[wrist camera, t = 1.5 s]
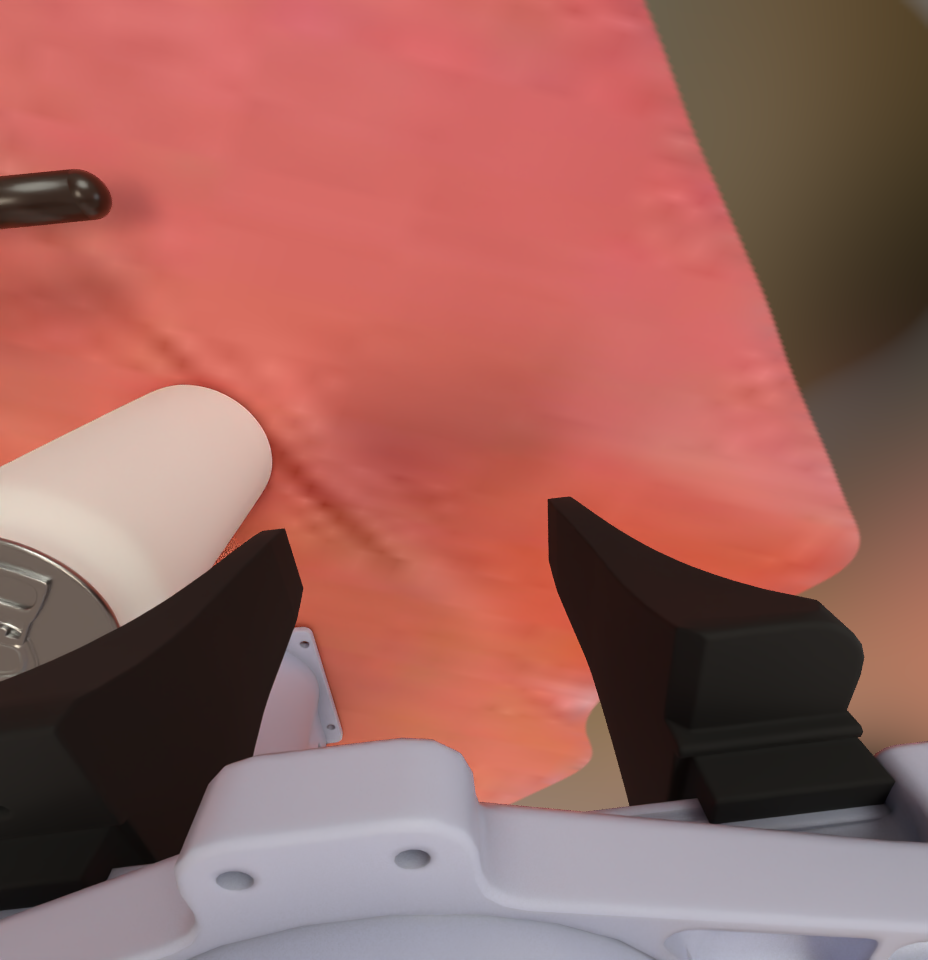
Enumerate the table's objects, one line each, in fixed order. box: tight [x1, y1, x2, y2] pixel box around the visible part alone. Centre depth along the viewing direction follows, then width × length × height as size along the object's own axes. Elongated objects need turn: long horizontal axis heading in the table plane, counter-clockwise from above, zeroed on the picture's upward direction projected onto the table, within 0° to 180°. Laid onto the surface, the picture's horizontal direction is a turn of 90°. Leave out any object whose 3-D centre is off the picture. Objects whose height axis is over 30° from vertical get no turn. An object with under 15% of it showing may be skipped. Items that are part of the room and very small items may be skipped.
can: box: [0, 385, 272, 681], centre depth 17 cm, size 6×6×12 cm
